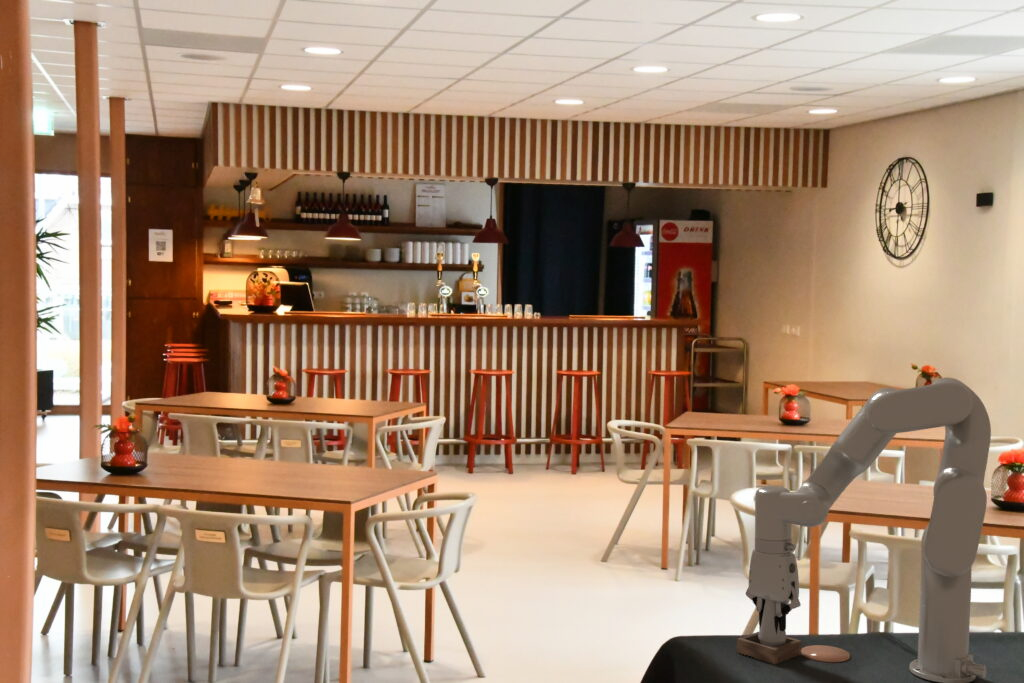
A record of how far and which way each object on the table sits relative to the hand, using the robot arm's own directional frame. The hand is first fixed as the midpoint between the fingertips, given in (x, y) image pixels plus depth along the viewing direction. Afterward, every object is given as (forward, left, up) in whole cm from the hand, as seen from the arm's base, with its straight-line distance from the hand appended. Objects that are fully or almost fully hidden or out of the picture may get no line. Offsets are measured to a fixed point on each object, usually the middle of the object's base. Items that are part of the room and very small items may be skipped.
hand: (772, 631), depth 241 cm
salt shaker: (0, 0, -4) cm, 4 cm away
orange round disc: (-7, -9, -5) cm, 13 cm away
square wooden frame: (+1, 0, -5) cm, 5 cm away
